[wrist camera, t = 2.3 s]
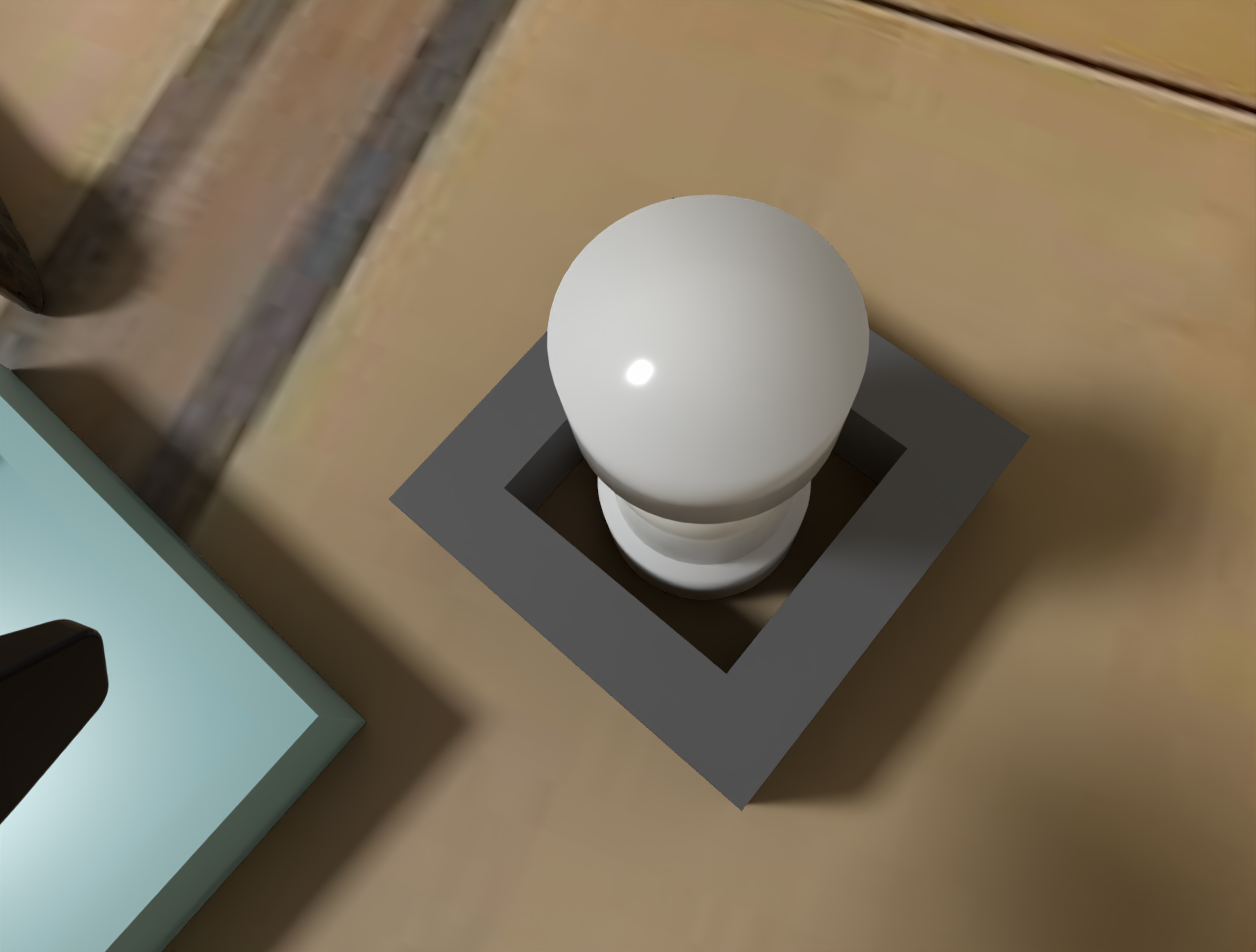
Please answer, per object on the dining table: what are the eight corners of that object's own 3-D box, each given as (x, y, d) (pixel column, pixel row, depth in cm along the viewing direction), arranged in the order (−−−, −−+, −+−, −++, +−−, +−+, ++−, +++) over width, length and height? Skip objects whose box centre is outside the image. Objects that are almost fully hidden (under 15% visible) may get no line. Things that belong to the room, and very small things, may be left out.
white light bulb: (839, 490, 23) (935, 306, 14) (717, 640, 22) (732, 551, 13) (689, 380, 25) (683, 144, 15) (568, 517, 24) (482, 354, 14)
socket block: (989, 476, 23) (1029, 436, 20) (736, 804, 21) (741, 810, 18) (675, 258, 26) (673, 197, 23) (425, 530, 24) (388, 499, 21)
